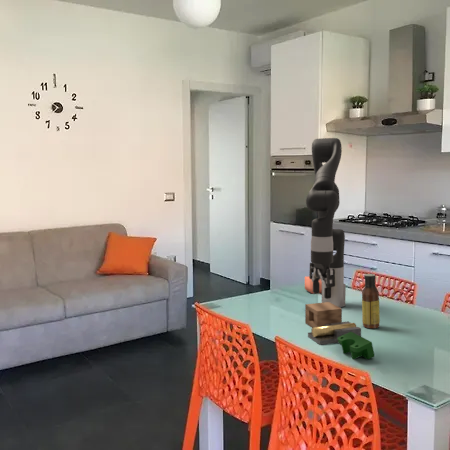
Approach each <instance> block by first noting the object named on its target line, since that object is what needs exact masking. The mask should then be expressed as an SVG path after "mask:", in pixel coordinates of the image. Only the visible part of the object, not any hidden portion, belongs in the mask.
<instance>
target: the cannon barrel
mask: <svg viewBox="0 0 450 450" xmlns="http://www.w3.org/2000/svg"><path fill="white" fill-rule="evenodd" d="M351 327H358V326H357V324H356V323H355V322H350V323H348V324H339V325H331V326H322V327H313V328H312V327H311V331H310V332H312V335H313V337H318V336H326V335H334V330H335V329H343V328H351Z"/></svg>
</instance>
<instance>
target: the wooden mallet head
mask: <svg viewBox="0 0 450 450" xmlns="http://www.w3.org/2000/svg"><path fill="white" fill-rule="evenodd" d="M304 306H305V310H304V311H305V313H304V314H305V315H304V317H305V320H304V321H305V325H307V326H309V327H310V328H311V329H312V328H313V327H322V326H325V324H330V323H339V322H343V317H342V315H343V307H338V306H336V305H334V304H332V303H330V302H324V303H322V302H316V303H307V304H305V305H304Z"/></svg>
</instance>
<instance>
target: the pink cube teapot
mask: <svg viewBox="0 0 450 450" xmlns="http://www.w3.org/2000/svg"><path fill="white" fill-rule="evenodd" d="M318 282H319V294H322V281H321V279H320V280H319V281H318ZM304 290H306V291H307V292H309V293H311V294H312V295H313V294H315V293H314V292H313V282H312V279H310V278H309V275H308V276H307V275H306V276H304Z"/></svg>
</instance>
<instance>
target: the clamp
mask: <svg viewBox="0 0 450 450" xmlns="http://www.w3.org/2000/svg"><path fill="white" fill-rule="evenodd" d="M337 344H339V345H341V348H342V349H341V350H342V354H343V355H345V354H348V353H350V354H351V358H352V360H355V359H358V358H360V357H363V358H365V359H366V360H369V359H373V358H374V357H375V352H374V346H373V343H372V341H371V340H369V339H366V338H364V337H363V336H362V335H361V336H359V335H357V334H355V333H353V332H349V333H347V334H344V335H342V336H340V337H338V343H337Z"/></svg>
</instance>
